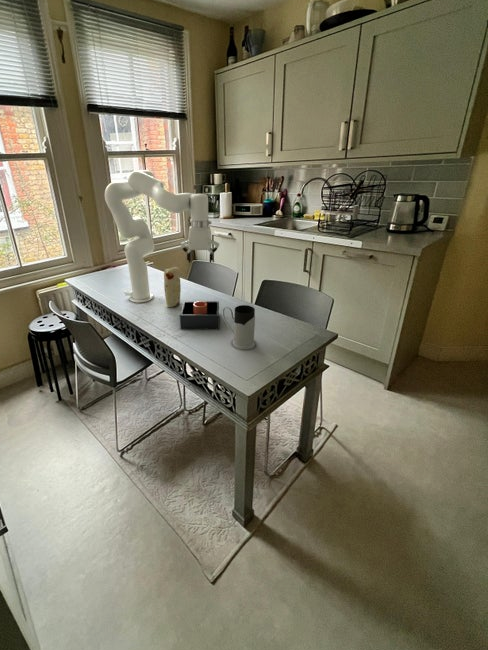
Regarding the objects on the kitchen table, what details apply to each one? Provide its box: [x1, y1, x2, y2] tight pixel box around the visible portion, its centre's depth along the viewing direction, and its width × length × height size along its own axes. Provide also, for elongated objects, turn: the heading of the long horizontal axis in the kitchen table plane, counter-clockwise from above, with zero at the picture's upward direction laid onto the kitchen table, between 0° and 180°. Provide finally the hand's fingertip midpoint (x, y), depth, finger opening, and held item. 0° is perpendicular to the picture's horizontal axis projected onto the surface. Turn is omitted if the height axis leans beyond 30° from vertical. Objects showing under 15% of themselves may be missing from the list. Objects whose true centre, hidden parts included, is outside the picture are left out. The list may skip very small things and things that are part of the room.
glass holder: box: [222, 304, 256, 350], centre depth 123 cm, size 9×14×15 cm, turn 49°
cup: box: [193, 300, 207, 315], centre depth 141 cm, size 6×6×8 cm
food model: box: [163, 266, 182, 308], centre depth 157 cm, size 10×7×20 cm
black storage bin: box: [179, 300, 220, 330], centre depth 142 cm, size 17×15×7 cm
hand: (200, 261), depth 144 cm, fingers open, 9 cm apart
